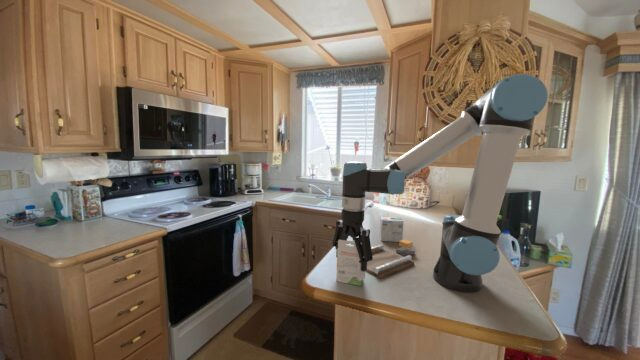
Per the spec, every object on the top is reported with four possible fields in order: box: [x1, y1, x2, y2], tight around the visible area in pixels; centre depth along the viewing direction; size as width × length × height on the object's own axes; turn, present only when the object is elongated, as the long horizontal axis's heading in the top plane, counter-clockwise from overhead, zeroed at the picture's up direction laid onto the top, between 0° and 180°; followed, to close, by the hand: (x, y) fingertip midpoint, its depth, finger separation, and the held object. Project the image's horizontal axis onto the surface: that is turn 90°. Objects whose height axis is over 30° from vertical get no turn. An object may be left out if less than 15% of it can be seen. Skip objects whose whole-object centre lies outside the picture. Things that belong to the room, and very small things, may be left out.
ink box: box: [335, 240, 364, 287], centre depth 89 cm, size 9×5×15 cm, turn 70°
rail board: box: [365, 249, 415, 279], centre depth 105 cm, size 18×20×1 cm
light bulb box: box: [379, 216, 404, 243], centre depth 132 cm, size 11×7×11 cm, turn 84°
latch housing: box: [395, 246, 416, 257], centre depth 115 cm, size 6×6×2 cm
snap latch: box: [398, 239, 414, 249], centre depth 114 cm, size 4×4×2 cm
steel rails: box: [371, 243, 413, 274], centre depth 105 cm, size 15×20×2 cm
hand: (350, 273), depth 89 cm, fingers closed on ink box, 9 cm apart
